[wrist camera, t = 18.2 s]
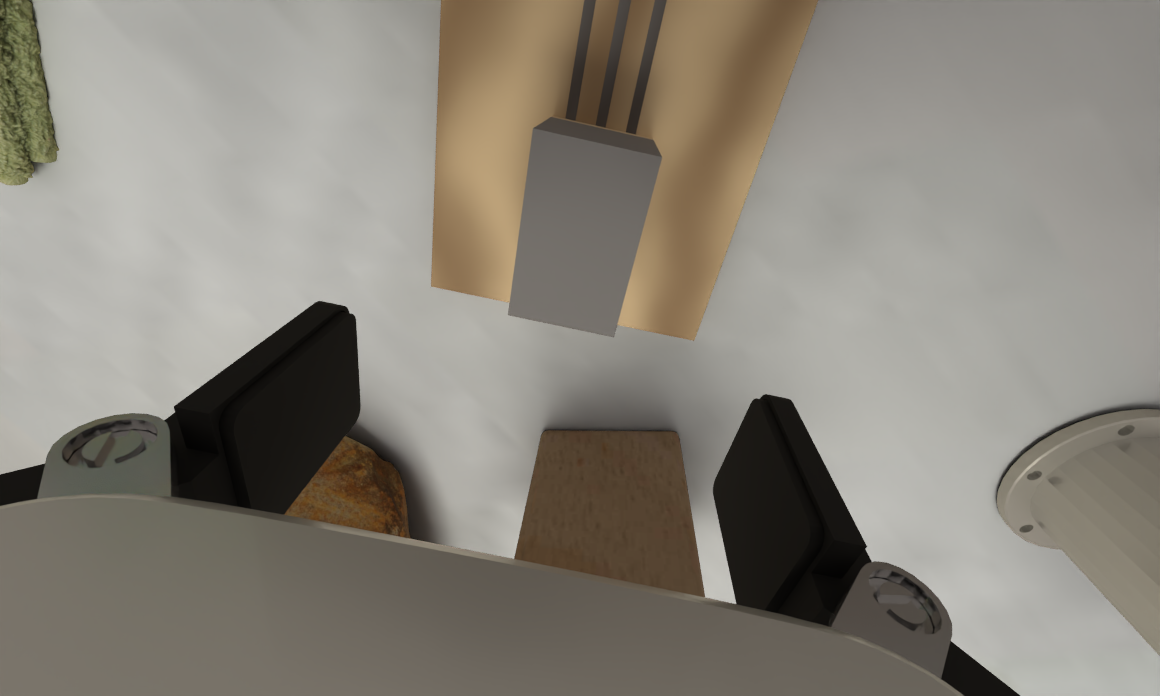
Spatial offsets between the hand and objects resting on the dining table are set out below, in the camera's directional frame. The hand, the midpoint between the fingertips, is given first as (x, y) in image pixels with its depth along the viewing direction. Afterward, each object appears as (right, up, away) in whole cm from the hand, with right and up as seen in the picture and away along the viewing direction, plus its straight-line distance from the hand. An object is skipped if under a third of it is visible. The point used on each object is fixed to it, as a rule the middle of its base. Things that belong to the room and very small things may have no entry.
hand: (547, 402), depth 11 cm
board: (+2, +13, +13) cm, 19 cm away
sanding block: (+1, +9, +14) cm, 17 cm away
